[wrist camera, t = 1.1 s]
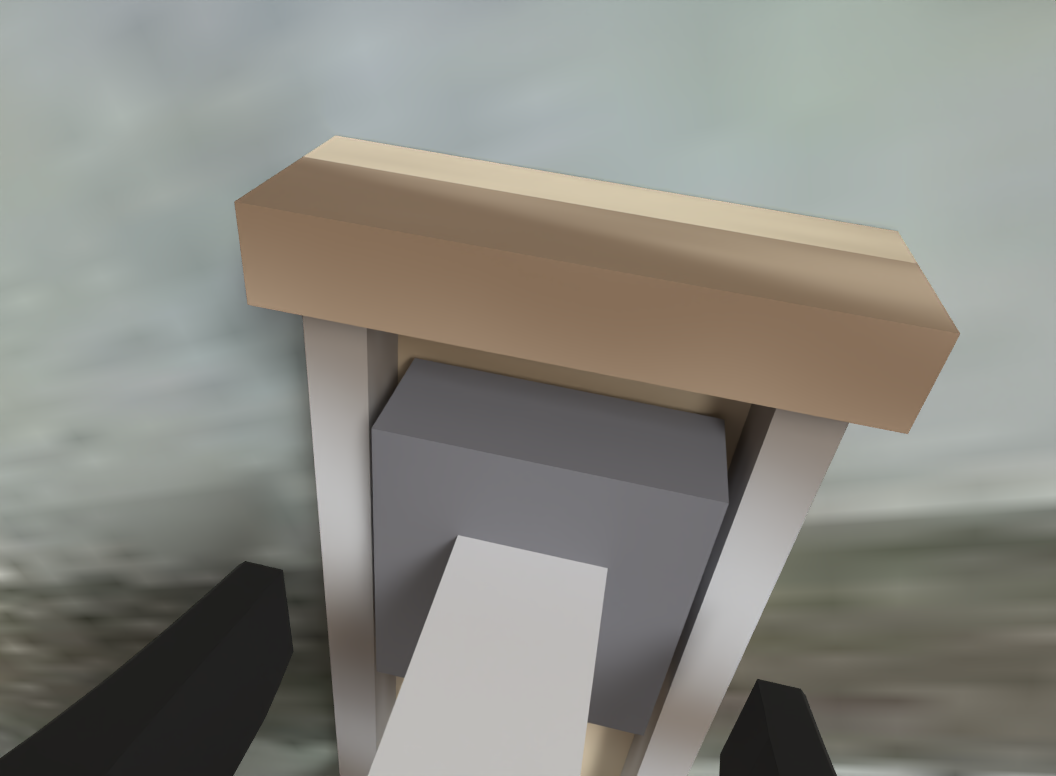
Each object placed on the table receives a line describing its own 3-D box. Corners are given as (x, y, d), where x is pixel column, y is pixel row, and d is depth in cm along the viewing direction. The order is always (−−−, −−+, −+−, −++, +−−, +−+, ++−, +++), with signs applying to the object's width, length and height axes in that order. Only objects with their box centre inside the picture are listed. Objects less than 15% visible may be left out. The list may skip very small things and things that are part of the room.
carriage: (649, 646, 15) (620, 1096, 9) (409, 591, 16) (245, 987, 10) (724, 419, 12) (751, 911, 6) (415, 357, 12) (168, 758, 7)
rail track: (622, 877, 24) (614, 995, 22) (365, 810, 25) (326, 915, 22) (897, 231, 11) (960, 333, 8) (335, 135, 12) (234, 202, 9)
